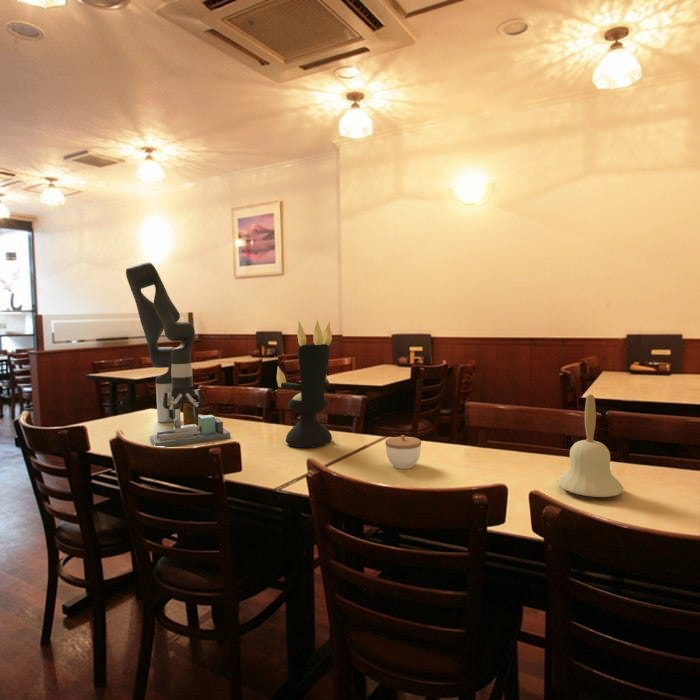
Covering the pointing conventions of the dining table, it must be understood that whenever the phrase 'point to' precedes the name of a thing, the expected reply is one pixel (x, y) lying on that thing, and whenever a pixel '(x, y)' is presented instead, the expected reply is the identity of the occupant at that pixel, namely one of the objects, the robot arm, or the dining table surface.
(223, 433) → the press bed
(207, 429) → the housing
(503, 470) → the dining table surface
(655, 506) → the dining table surface
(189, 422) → the condiment
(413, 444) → the lidded jar
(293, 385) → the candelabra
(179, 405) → the ram
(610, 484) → the handbell
